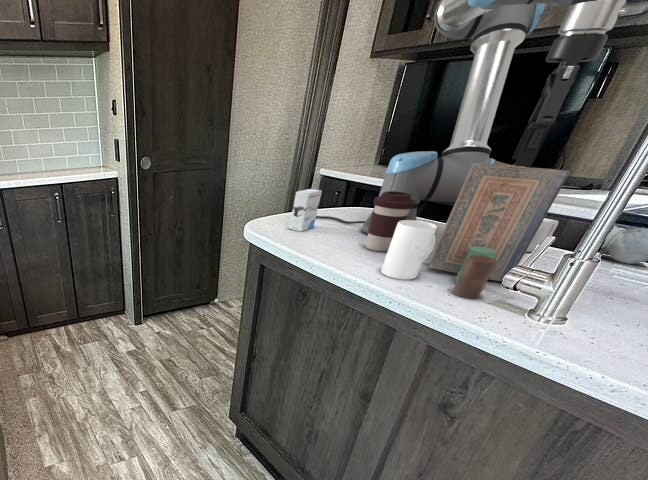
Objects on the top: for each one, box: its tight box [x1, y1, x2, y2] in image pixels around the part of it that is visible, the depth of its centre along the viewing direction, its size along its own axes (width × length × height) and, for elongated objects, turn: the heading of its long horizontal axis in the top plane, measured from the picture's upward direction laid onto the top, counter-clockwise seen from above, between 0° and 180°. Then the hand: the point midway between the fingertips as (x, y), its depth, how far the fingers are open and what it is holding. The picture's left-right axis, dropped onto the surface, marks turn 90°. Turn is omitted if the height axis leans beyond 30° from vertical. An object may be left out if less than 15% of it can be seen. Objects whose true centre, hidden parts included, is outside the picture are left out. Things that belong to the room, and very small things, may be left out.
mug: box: [380, 219, 438, 280], centre depth 96 cm, size 8×12×12 cm
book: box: [427, 160, 571, 283], centre depth 92 cm, size 17×7×25 cm, turn 55°
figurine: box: [598, 225, 648, 265], centre depth 104 cm, size 10×9×15 cm
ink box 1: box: [288, 188, 323, 232], centre depth 131 cm, size 8×5×12 cm, turn 132°
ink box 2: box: [525, 217, 559, 253], centre depth 112 cm, size 9×5×12 cm
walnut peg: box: [452, 255, 497, 299], centre depth 86 cm, size 5×5×8 cm
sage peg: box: [454, 246, 497, 284], centre depth 91 cm, size 5×5×8 cm
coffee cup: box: [365, 191, 415, 253], centre depth 112 cm, size 10×10×15 cm
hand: (520, 162), depth 86 cm, fingers open, 13 cm apart
